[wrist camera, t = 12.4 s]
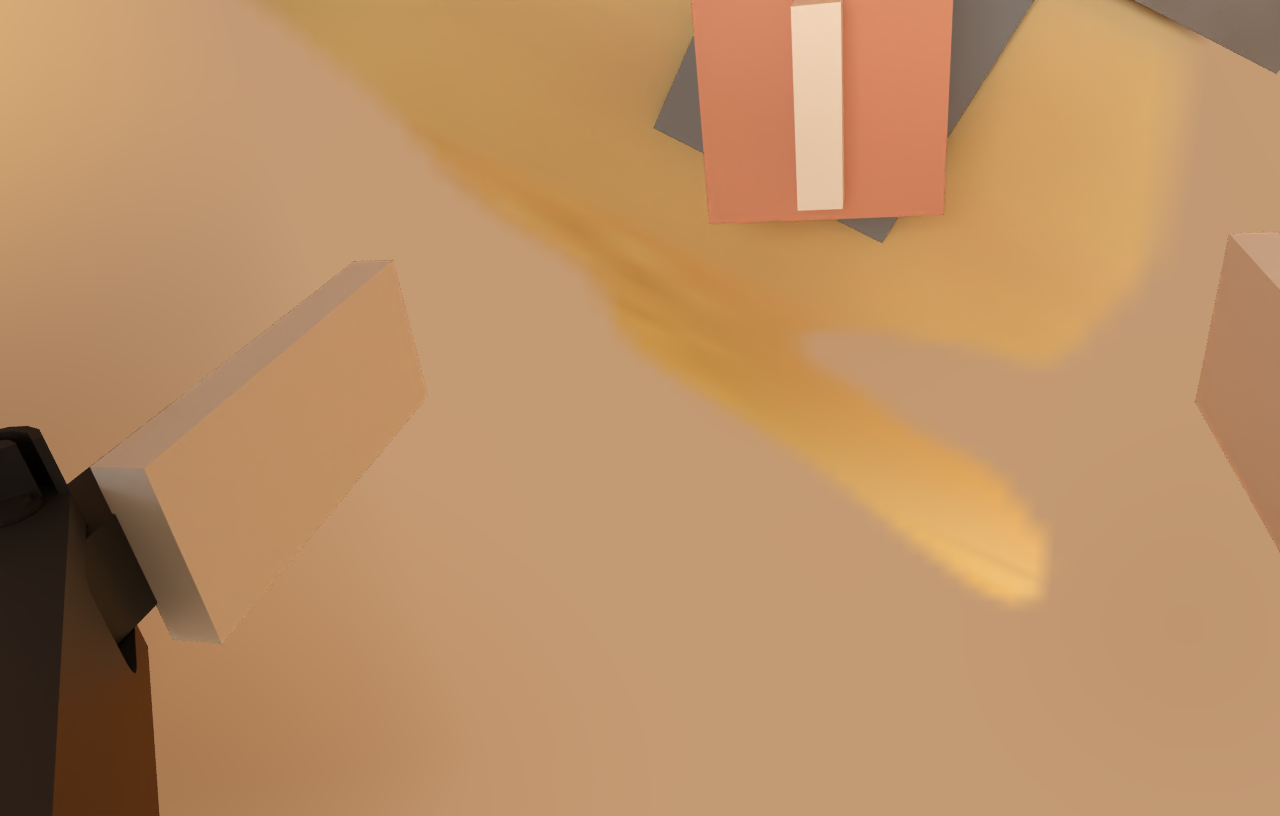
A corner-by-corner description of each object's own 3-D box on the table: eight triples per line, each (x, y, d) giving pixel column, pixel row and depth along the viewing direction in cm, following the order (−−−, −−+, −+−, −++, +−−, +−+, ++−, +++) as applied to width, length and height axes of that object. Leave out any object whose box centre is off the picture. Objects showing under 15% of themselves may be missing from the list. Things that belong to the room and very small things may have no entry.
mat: (656, 124, 37) (653, 128, 36) (774, -147, 31) (772, -147, 31) (881, 237, 37) (882, 243, 37) (1036, -12, 32) (1039, -10, 31)
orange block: (717, -38, 33) (681, -13, 27) (944, -63, 31) (958, -42, 25) (732, 175, 37) (702, 238, 31) (935, 164, 35) (946, 230, 29)
